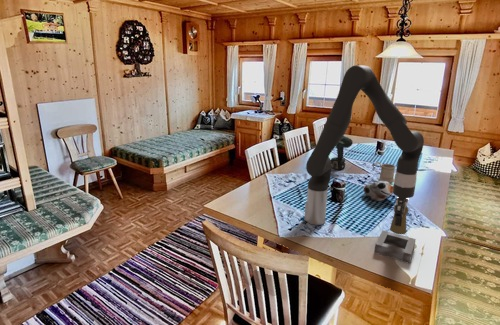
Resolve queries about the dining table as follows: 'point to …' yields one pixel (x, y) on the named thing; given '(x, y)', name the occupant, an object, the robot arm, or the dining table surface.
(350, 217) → the dining table surface
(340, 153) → the power drill
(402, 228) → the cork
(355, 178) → the dining table surface
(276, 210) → the dining table surface
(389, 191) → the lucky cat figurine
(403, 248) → the square holder
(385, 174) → the mug
